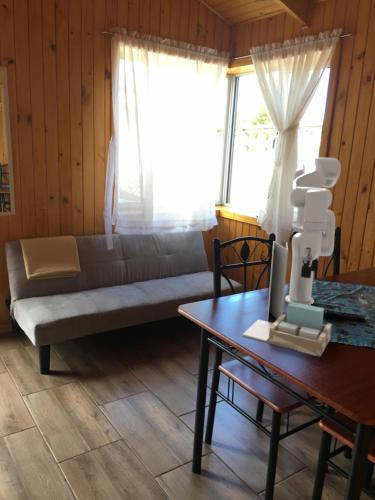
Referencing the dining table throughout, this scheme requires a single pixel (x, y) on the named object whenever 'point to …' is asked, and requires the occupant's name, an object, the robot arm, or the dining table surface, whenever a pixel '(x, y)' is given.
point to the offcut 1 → (288, 328)
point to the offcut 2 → (309, 333)
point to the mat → (259, 330)
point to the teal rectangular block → (305, 315)
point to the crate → (299, 338)
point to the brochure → (277, 280)
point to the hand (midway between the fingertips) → (309, 274)
